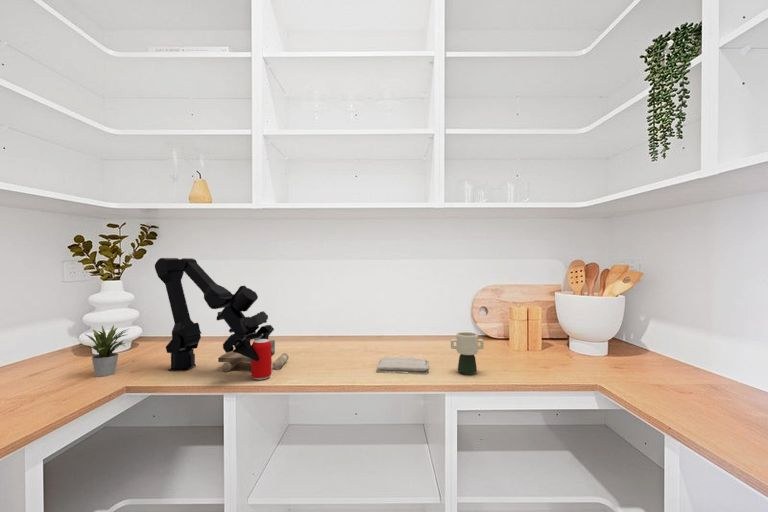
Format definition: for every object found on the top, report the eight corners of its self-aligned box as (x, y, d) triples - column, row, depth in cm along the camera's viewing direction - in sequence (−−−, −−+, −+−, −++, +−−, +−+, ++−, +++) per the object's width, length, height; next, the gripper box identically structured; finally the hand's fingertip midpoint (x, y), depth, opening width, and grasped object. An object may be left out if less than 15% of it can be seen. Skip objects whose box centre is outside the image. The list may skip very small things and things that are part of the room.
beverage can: (268, 373, 122) (268, 337, 123) (273, 378, 117) (273, 341, 117) (249, 377, 119) (249, 339, 119) (254, 382, 114) (254, 343, 114)
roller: (272, 369, 127) (272, 360, 127) (280, 361, 137) (280, 353, 137) (281, 369, 127) (281, 360, 127) (288, 361, 137) (288, 353, 137)
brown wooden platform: (216, 372, 124) (217, 348, 125) (232, 361, 137) (232, 339, 138) (264, 371, 125) (264, 348, 125) (275, 361, 138) (275, 339, 138)
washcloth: (429, 375, 121) (429, 366, 121) (375, 374, 123) (375, 365, 123) (429, 365, 133) (429, 357, 133) (379, 364, 135) (379, 355, 135)
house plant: (129, 377, 119) (130, 326, 119) (74, 384, 112) (74, 331, 112) (134, 366, 131) (134, 320, 131) (84, 372, 124) (85, 323, 125)
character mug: (481, 369, 126) (481, 331, 126) (486, 376, 119) (486, 336, 119) (449, 369, 127) (449, 331, 127) (452, 376, 120) (452, 335, 120)
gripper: (230, 308, 111) (261, 347, 107) (269, 301, 128) (296, 335, 125) (209, 332, 113) (238, 372, 110) (250, 322, 131) (277, 356, 127)
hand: (265, 357), depth 118 cm, fingers closed on beverage can, 6 cm apart
